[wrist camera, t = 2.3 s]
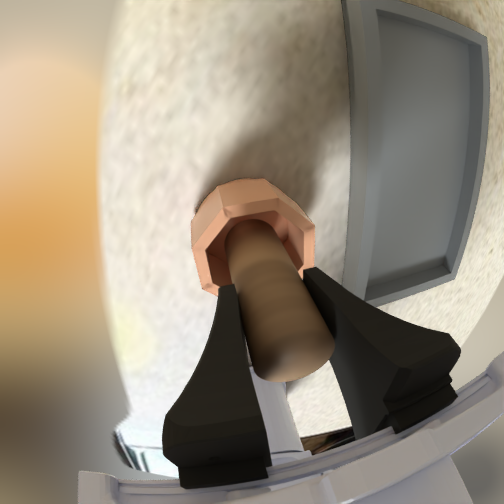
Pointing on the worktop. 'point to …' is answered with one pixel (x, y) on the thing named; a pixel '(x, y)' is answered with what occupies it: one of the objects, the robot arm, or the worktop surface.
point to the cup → (243, 208)
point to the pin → (275, 305)
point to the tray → (411, 146)
